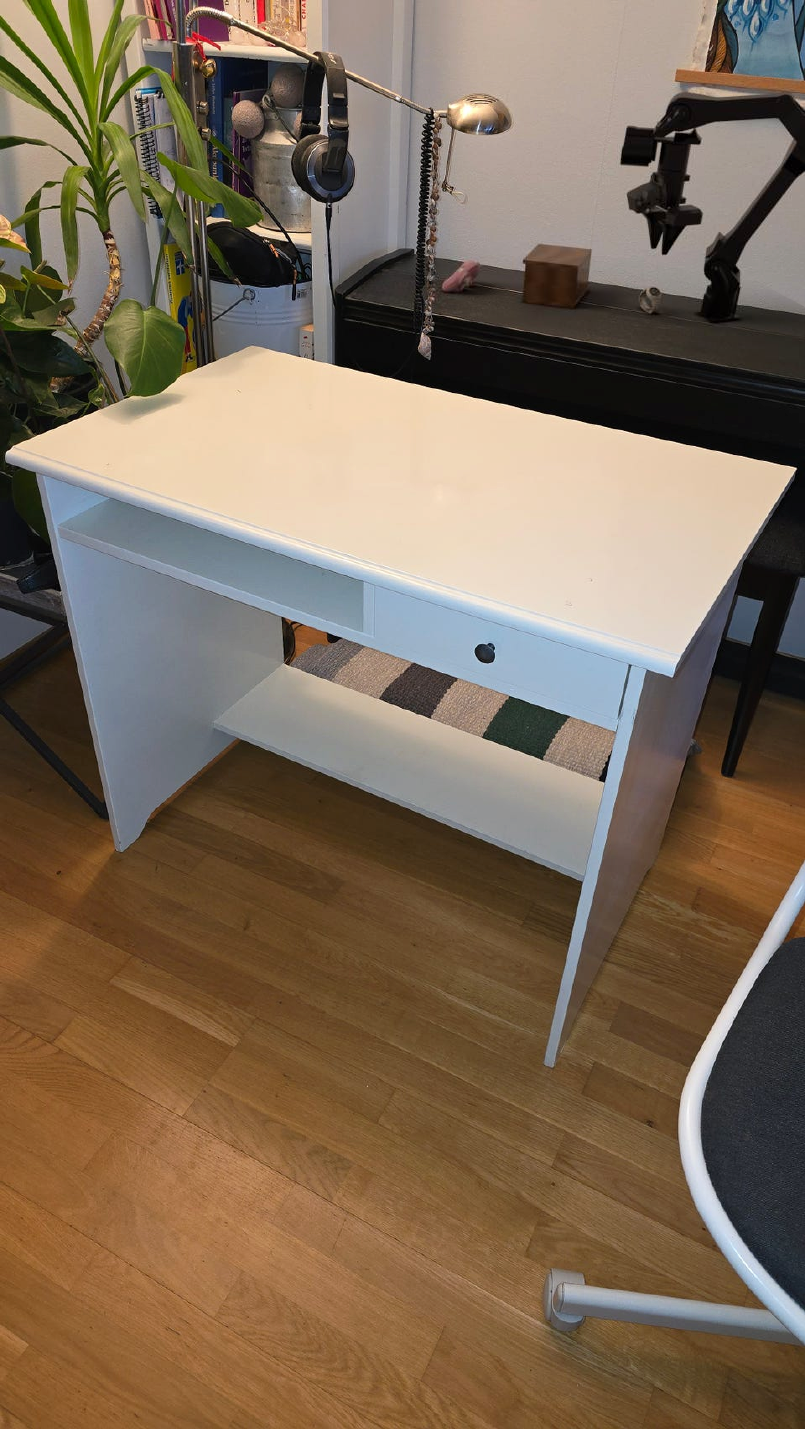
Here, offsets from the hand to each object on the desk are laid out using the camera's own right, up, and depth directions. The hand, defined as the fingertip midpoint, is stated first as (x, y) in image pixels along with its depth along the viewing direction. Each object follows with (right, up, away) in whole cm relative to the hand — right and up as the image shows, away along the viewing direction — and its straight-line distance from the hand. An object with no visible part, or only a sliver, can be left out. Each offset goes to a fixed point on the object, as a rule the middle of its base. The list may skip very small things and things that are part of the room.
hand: (658, 251), depth 206 cm
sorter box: (-19, -3, +15) cm, 25 cm away
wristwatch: (0, -9, +8) cm, 12 cm away
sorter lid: (-20, +3, +10) cm, 22 cm away
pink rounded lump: (-40, +1, +19) cm, 44 cm away
